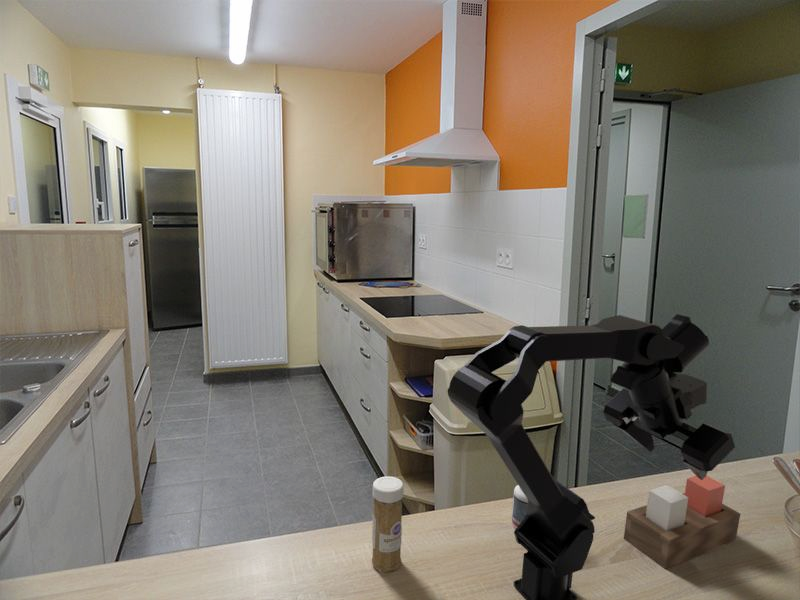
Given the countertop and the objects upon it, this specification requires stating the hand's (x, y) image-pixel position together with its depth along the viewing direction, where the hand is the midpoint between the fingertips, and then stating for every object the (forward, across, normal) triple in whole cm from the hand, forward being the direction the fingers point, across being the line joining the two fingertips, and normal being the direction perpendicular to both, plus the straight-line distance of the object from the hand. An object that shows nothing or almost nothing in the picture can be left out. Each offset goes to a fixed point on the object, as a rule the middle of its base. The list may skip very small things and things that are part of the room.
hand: (676, 463), depth 86 cm
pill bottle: (+4, +14, +22) cm, 27 cm away
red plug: (+13, 0, -2) cm, 13 cm away
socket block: (+15, 0, +4) cm, 15 cm away
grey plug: (+9, 0, +6) cm, 10 cm away
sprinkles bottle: (-10, +15, +45) cm, 48 cm away
